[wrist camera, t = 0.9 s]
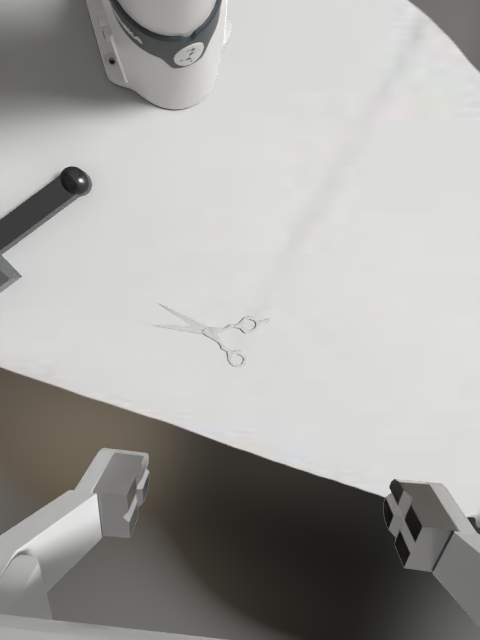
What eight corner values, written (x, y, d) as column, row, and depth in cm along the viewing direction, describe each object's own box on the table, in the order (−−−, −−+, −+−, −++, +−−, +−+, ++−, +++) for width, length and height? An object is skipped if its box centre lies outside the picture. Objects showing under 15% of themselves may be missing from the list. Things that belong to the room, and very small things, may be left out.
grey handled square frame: (-100, 259, 44) (-123, 261, 40) (60, 140, 43) (50, 132, 40) (-35, 318, 47) (-52, 324, 44) (114, 208, 47) (108, 205, 44)
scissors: (250, 370, 58) (145, 343, 53) (249, 369, 59) (146, 341, 54) (270, 319, 56) (163, 285, 51) (269, 318, 57) (163, 284, 52)
